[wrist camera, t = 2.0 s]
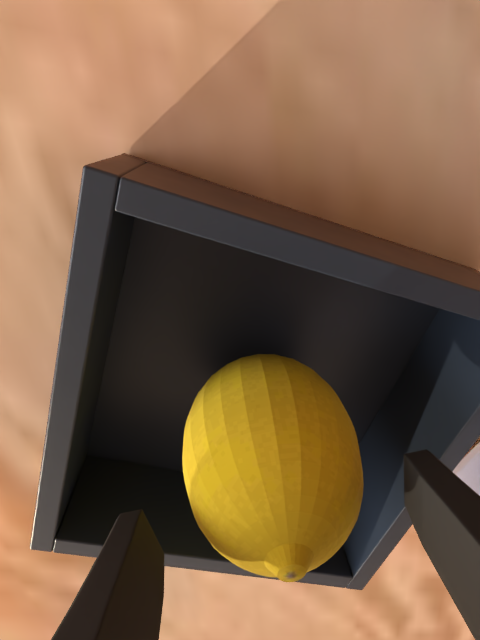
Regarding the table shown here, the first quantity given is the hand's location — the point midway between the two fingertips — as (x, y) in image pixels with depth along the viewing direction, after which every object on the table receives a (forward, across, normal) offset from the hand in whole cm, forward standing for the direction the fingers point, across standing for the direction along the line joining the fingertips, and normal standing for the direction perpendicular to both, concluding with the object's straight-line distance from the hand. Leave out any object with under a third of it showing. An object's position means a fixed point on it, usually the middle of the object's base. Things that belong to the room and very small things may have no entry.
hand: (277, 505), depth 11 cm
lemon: (+6, 0, 0) cm, 6 cm away
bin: (+6, 0, 0) cm, 7 cm away
